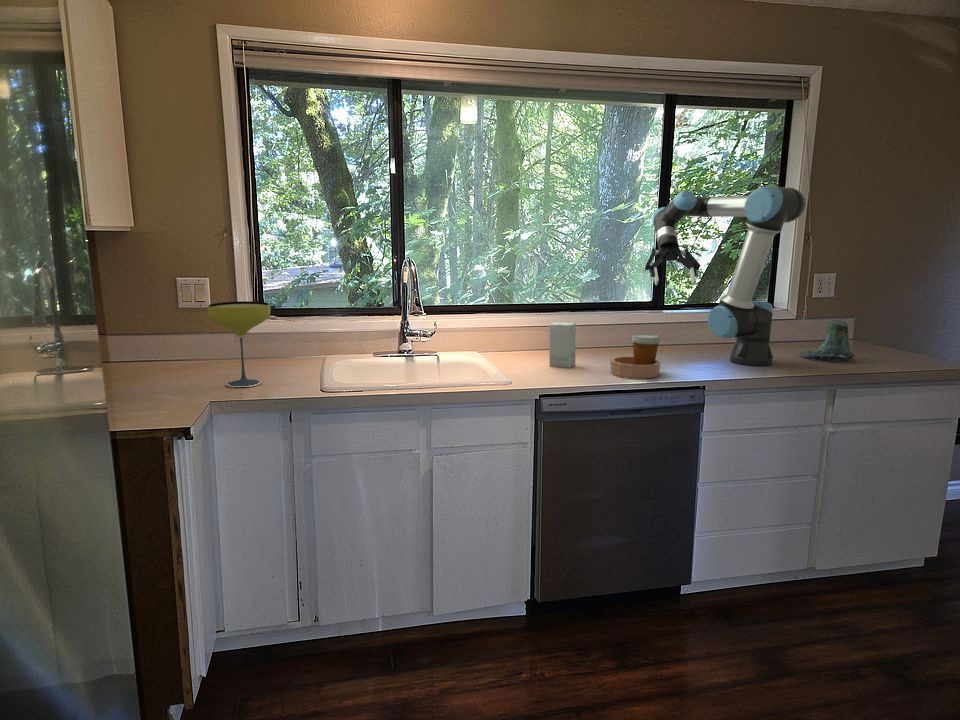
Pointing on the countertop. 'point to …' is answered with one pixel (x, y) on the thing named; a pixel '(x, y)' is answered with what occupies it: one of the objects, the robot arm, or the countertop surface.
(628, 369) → the terracotta dish
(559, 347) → the skincare box
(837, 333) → the tree stump
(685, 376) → the countertop surface
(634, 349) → the disposable coffee cup
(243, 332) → the cocktail glass
